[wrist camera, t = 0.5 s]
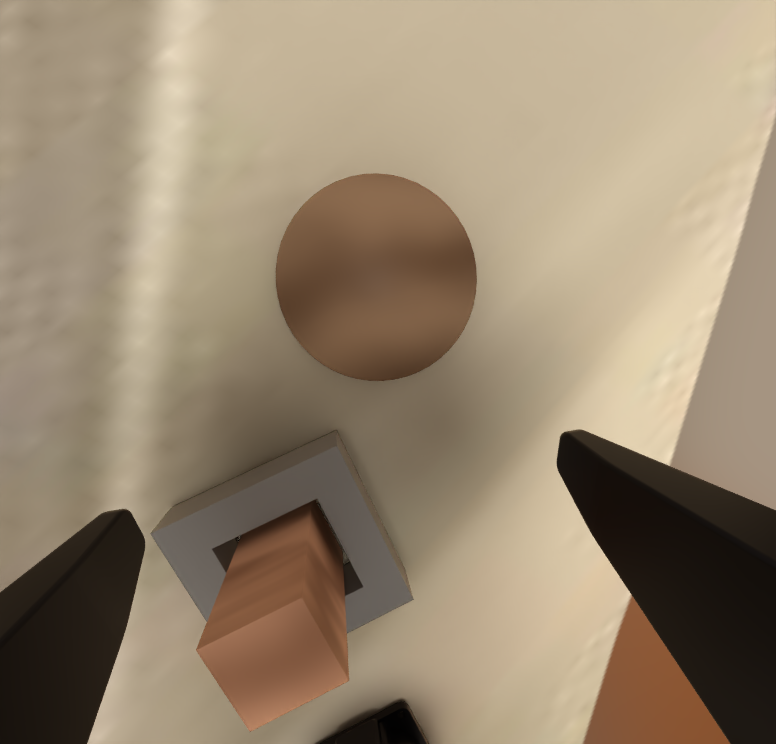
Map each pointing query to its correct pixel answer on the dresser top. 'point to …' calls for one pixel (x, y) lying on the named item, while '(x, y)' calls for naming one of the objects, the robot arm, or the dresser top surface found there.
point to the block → (279, 618)
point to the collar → (273, 499)
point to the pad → (376, 277)
